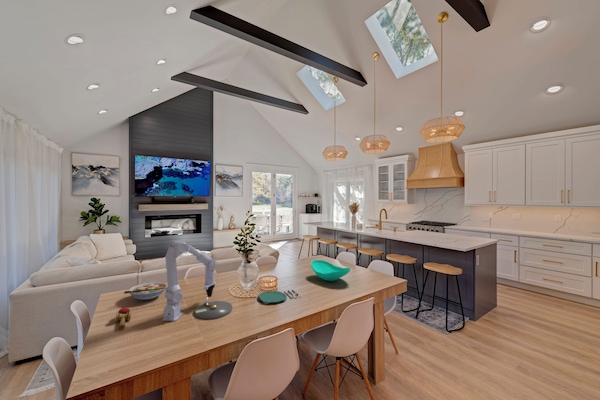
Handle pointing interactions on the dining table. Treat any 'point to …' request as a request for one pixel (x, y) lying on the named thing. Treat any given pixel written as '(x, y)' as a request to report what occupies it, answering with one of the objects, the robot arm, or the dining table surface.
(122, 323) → the kendama
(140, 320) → the dining table surface
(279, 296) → the cutlery set
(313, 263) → the table top decor
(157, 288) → the ramen bowl
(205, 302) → the brass vanity light
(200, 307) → the tuner dial
